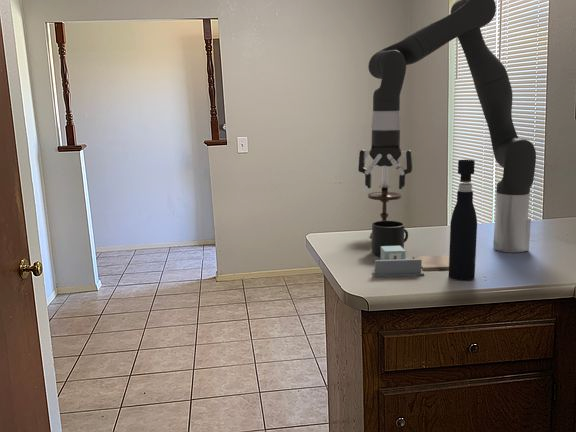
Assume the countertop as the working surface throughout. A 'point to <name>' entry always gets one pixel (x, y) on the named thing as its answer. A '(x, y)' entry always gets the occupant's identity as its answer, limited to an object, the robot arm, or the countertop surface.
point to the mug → (387, 235)
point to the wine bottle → (463, 228)
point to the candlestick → (384, 194)
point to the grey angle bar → (398, 268)
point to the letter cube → (392, 252)
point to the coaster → (434, 262)
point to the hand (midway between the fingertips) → (384, 188)
